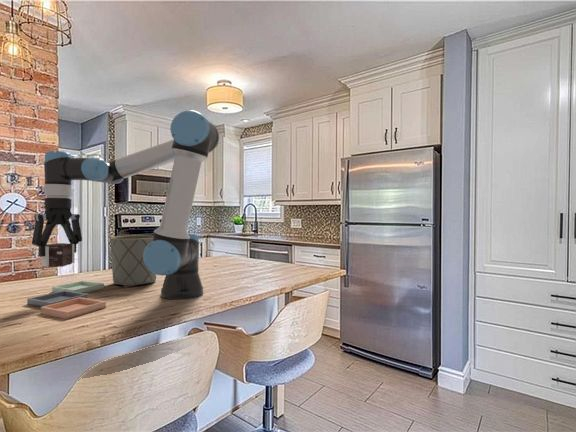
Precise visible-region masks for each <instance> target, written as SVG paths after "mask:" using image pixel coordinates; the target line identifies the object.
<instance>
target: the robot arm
mask: <svg viewBox="0 0 576 432" xmlns="http://www.w3.org/2000/svg"><path fill="white" fill-rule="evenodd" d="M170 134H171V137H172V139H171V140H169V141H165V142H162V143H159V144H157V145H154V146H151V147H148V148H145V149H143V150H139V151H136V152H134V153H131V154H127V155H125V156H122V157H119V158H115V159H113V160H111V161H107V162H106V161H105V160H104V159H103V158H101V157H93V156H92V157H72V154H71V153H70V152H67V151H61V150H58V151H57V150H48V151H46V152H45V153H44V161H43V166H44V167H43V169H44V170H43V171H44V196H45V198H44V210H45V211H44V212H43V213H41V214H34V220H35V221H34V222H35V223H34V229H33V234H32V239H31V245H34V246H37V247H38V256H39V257H41V259H40V261H41V264H40V265H41V267H44V266H46V268H47V266H49V247H48V246H46V245H48V242H49V240H50V237H51V235H52V233H53V231H54V228H55V227H57V226H58V225H60V226H61V227H62V229H63V231H64V233H65V236H66V238H67V239H68V243H69V244H72V264H74V263H75V253H77V245H78V244H79V242H83V237H82V231H81V226H80V217H81V215H80V214H79V213H78V214H77V213H72V198H71V197H72V181H90V182H97V183H105V184H109V185H117V184H121V183H122V182H123V181H124V179H127V178H131V177H132V176H136V175H139V174H141V173H145V172H148V171H150V170H154V169H157V168H159V167H163V166H166V165H169V164H171V163H173V166H172V168H171V174H170V179H169V182H168V183H169V184H168V188H167V193H166V197H165V203H164V206H163V211H162V216H161V220H160V225H159V227H157V228H156V229H154V230H153V235H152V236H153V238H152V242H151V243H150V244H148V245H147V247H146V248H145V250H144V253H143V260H144V263H145V265H146V266H147V268H148V269H149V270H150V271H151V272H152V273H154V274H156V276H165V277H164V281H163V284H162V287H161V289H160V296H161V297H162V298H164V299H167V300H168V299H169V300H186V299H194V298H197V297H200V296H202V295H203V294H204V287H203V284H202V281H201V277H200V273H199V259H200V258H199V254H200V253H199V246H200V241H199V235H198V234H196V233H188V232H187V231H188V226H189V222H190V216H191V213H192V212H191V211H192V208H193V203H194V199H195V195H196V189H197V184H198V180H199V176H200V172H201V167H202V163H203V161H205V160H207V159H208V157H209V153H212V152H213V151H214V150H215V149H216V148H217V146H218V144H219V141H220V134H219V131H218V128H217V127H216V126H215V125H214V124H213V123H212V122H211V121H210V120H209V119H208V117H206V116H205V115H204V114H202V113H200V112H199V111H197V110H193V109H192V110H183V111H181V112H180V113H178V114H176V115H175V116H174V117H173V119H172V120H171V123H170ZM45 220H46V223H45V222H44V221H45ZM70 220H71V222H70ZM44 223H45V224H44ZM44 226H45V227H44ZM43 229H44V230H43Z"/></svg>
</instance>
